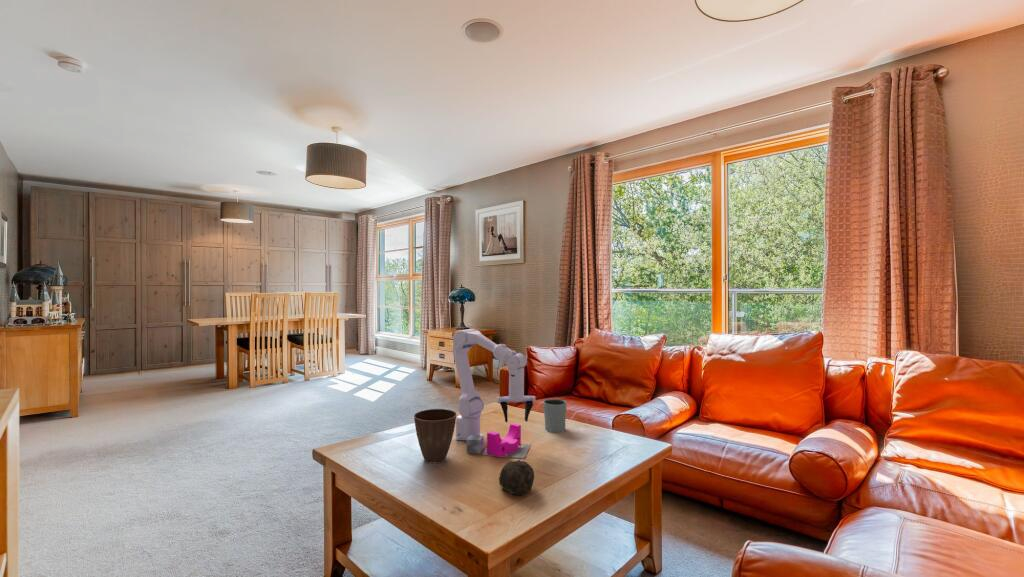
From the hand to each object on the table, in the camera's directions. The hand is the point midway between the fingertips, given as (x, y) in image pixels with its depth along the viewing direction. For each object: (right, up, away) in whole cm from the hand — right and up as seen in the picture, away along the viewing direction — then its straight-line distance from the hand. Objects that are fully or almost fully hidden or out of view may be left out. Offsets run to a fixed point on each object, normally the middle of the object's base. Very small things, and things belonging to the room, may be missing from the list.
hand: (516, 421), depth 169 cm
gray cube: (-15, -10, -3) cm, 19 cm away
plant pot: (-29, -10, -11) cm, 33 cm away
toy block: (-4, -10, -2) cm, 11 cm away
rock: (0, -11, -36) cm, 37 cm away
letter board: (-4, -10, -2) cm, 11 cm away
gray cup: (+17, -10, +22) cm, 30 cm away
